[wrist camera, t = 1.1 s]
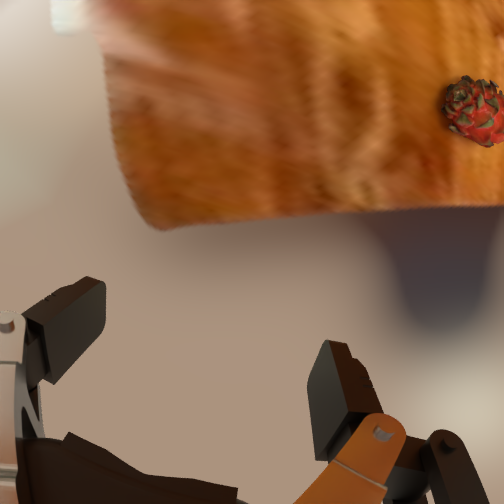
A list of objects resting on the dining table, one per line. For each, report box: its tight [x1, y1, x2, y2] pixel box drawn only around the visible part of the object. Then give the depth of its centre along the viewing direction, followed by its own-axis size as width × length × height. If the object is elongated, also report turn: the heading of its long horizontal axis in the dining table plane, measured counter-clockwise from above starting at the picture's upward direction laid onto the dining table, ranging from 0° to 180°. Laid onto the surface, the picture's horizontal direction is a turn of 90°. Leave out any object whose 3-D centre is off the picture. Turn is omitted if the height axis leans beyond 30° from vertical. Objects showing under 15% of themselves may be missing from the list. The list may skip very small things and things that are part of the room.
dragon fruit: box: [441, 75, 504, 148], centre depth 24 cm, size 8×8×12 cm
